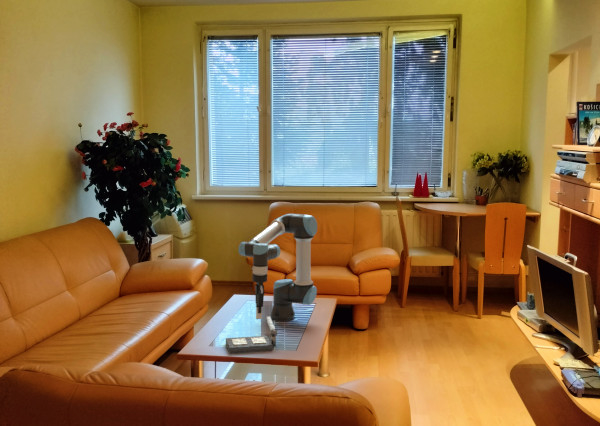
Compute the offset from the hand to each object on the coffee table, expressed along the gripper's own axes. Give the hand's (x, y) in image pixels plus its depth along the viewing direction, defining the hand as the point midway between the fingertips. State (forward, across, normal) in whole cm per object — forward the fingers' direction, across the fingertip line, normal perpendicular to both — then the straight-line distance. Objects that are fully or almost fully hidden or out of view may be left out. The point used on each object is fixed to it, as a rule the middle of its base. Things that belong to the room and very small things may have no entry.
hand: (258, 318), depth 277 cm
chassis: (+15, 0, -3) cm, 15 cm away
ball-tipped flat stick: (+9, -11, +9) cm, 17 cm away
